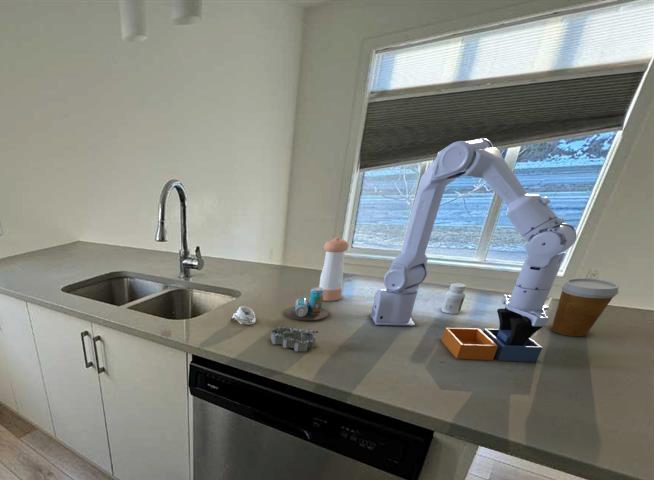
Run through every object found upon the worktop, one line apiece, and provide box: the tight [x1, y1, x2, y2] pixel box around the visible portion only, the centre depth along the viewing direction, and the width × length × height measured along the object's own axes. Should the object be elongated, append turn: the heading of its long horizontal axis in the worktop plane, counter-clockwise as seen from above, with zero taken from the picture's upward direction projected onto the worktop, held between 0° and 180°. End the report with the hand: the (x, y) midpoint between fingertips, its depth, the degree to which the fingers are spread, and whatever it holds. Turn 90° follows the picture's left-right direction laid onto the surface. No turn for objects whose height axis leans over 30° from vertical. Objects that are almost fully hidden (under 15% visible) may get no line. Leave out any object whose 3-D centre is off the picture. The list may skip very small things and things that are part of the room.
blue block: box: [496, 330, 528, 346], centre depth 92 cm, size 4×4×4 cm
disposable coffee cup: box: [551, 277, 620, 337], centre depth 96 cm, size 10×10×12 cm
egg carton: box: [269, 325, 319, 353], centre depth 105 cm, size 11×8×4 cm
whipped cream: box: [230, 305, 256, 326], centre depth 121 cm, size 8×7×5 cm
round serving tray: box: [285, 286, 329, 322], centre depth 121 cm, size 12×12×8 cm
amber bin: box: [441, 327, 498, 361], centre depth 95 cm, size 7×10×4 cm
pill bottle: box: [441, 282, 467, 315], centre depth 114 cm, size 4×4×8 cm
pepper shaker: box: [317, 236, 350, 302], centre depth 129 cm, size 7×7×19 cm
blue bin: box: [482, 328, 543, 363], centre depth 92 cm, size 7×10×4 cm
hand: (509, 344), depth 92 cm, fingers closed on blue block, 4 cm apart
